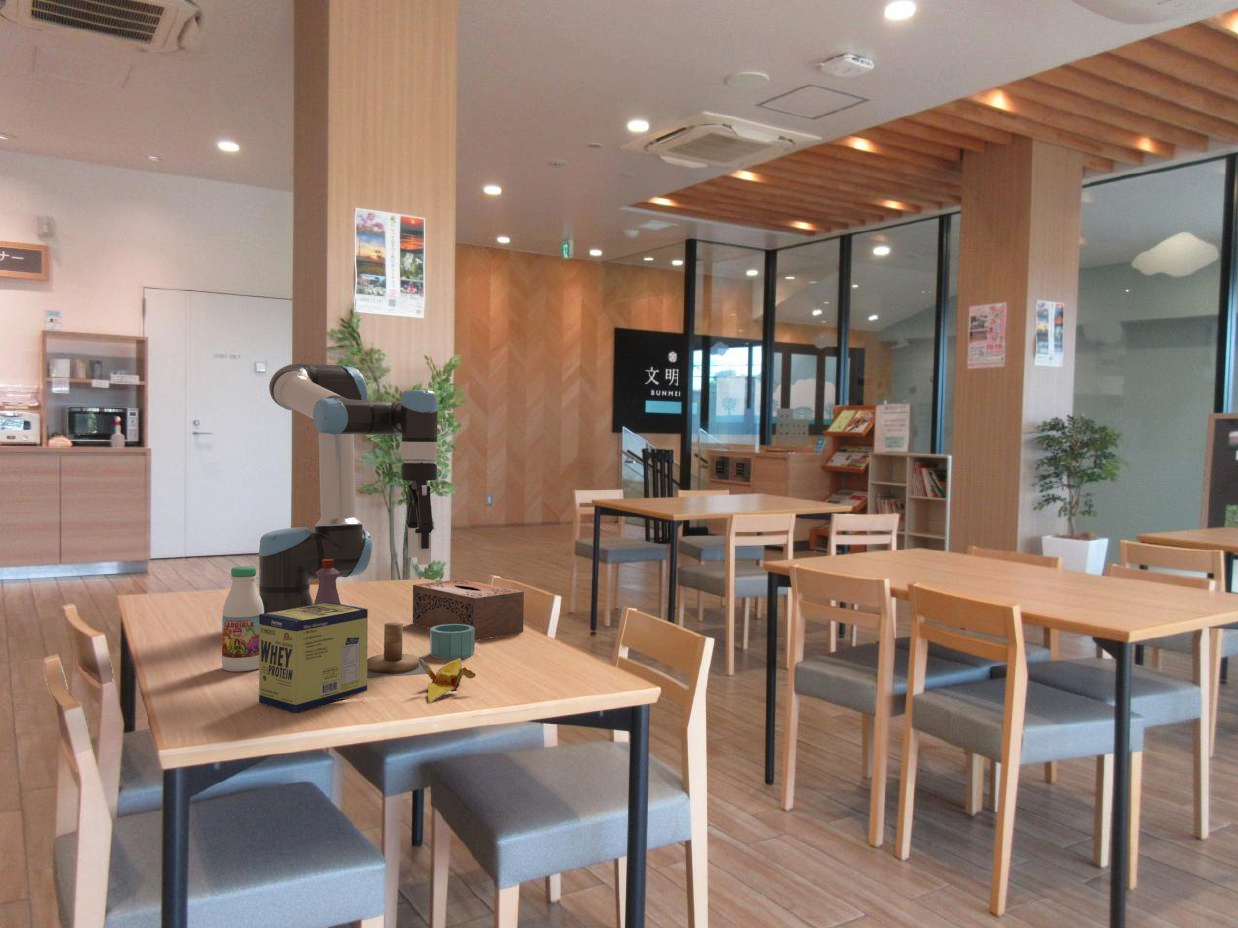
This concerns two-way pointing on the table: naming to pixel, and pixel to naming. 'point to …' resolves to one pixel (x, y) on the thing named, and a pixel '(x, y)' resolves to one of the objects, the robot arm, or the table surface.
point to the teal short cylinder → (452, 641)
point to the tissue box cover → (469, 607)
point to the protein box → (312, 655)
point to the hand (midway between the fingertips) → (419, 560)
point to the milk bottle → (241, 622)
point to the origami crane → (445, 678)
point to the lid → (392, 653)
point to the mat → (413, 672)
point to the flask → (327, 583)
